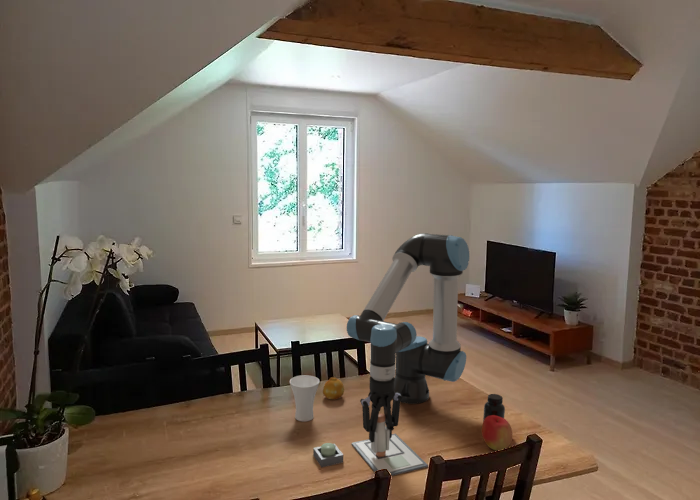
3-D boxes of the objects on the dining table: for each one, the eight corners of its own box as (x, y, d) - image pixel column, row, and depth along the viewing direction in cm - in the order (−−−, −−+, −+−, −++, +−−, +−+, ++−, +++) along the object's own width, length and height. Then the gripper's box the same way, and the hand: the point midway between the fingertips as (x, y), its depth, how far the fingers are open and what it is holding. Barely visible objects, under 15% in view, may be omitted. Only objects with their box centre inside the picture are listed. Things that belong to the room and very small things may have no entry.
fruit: (325, 384, 206) (325, 372, 201) (345, 388, 205) (346, 375, 200) (321, 402, 200) (320, 390, 195) (341, 406, 199) (342, 393, 194)
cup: (324, 414, 186) (324, 378, 184) (309, 427, 177) (310, 389, 175) (299, 408, 191) (299, 373, 189) (283, 420, 181) (283, 383, 179)
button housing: (313, 455, 159) (313, 447, 159) (334, 450, 162) (334, 443, 162) (321, 467, 153) (321, 459, 153) (343, 462, 156) (343, 454, 156)
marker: (373, 452, 160) (372, 414, 160) (384, 451, 161) (383, 413, 160) (376, 457, 157) (375, 418, 156) (387, 456, 157) (386, 417, 157)
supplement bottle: (504, 435, 174) (506, 402, 172) (483, 433, 175) (485, 399, 173) (502, 426, 181) (504, 393, 179) (482, 423, 182) (484, 391, 180)
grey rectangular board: (351, 444, 166) (351, 441, 166) (395, 435, 173) (395, 432, 173) (380, 478, 148) (380, 475, 148) (427, 466, 155) (428, 463, 154)
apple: (478, 452, 163) (480, 422, 162) (482, 438, 172) (484, 409, 171) (510, 459, 160) (512, 428, 158) (512, 444, 169) (515, 415, 167)
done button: (318, 453, 159) (318, 444, 158) (332, 450, 160) (332, 441, 160) (323, 461, 155) (324, 451, 154) (337, 458, 156) (337, 448, 156)
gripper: (362, 385, 149) (360, 461, 152) (412, 377, 155) (409, 450, 159) (352, 375, 155) (350, 448, 159) (400, 368, 162) (397, 438, 166)
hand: (380, 449), depth 159 cm, fingers closed on marker, 3 cm apart
